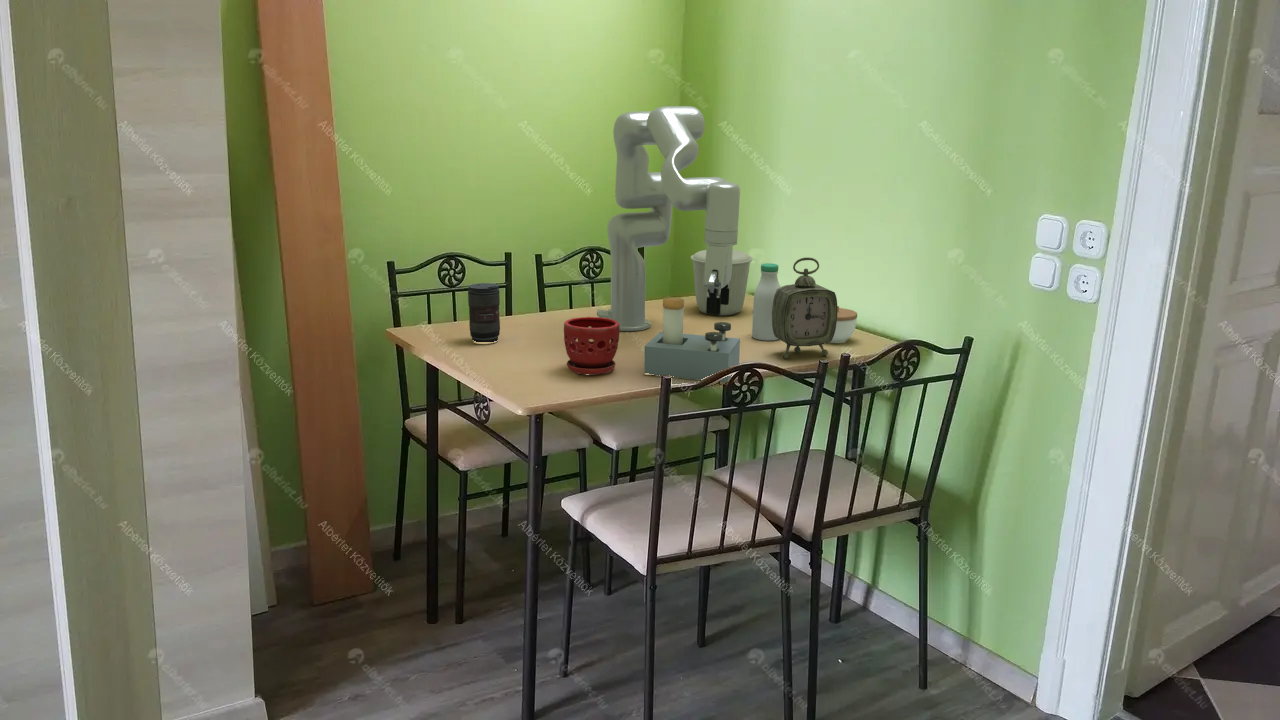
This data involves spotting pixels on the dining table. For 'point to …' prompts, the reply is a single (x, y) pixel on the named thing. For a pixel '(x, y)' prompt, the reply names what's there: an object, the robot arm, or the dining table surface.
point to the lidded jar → (844, 325)
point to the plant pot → (591, 344)
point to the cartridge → (673, 320)
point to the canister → (735, 284)
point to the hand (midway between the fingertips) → (717, 309)
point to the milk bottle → (765, 303)
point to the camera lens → (484, 312)
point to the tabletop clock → (804, 312)
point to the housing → (690, 357)
